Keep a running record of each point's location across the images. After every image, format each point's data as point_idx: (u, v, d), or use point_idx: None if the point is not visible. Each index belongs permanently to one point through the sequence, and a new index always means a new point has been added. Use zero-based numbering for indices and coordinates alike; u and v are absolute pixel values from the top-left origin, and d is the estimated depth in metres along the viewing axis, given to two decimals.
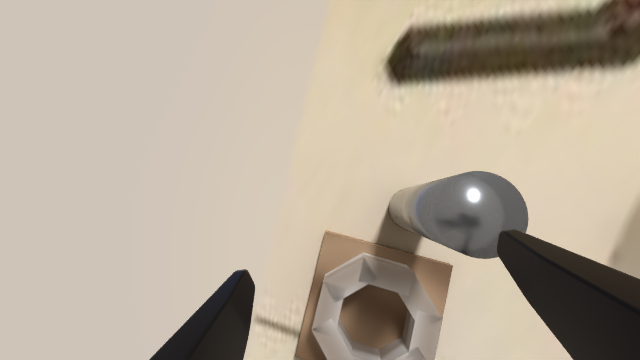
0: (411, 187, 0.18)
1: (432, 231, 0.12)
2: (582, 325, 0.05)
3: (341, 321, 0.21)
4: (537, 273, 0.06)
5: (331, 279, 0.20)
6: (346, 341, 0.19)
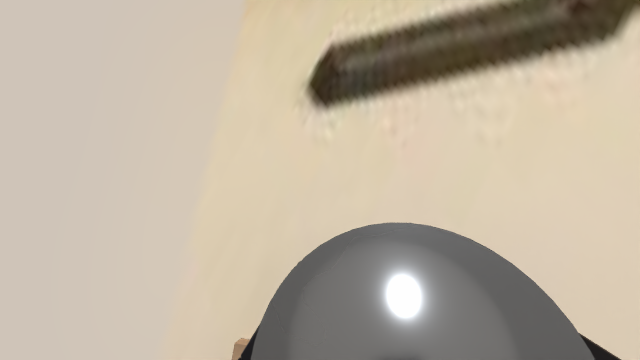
0: None
1: None
2: None
3: None
4: None
5: None
6: None
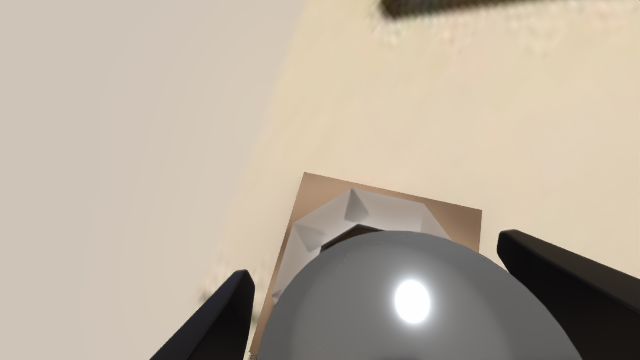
0: None
1: None
2: (582, 325, 0.05)
3: None
4: (537, 273, 0.06)
5: (305, 219, 0.14)
6: None
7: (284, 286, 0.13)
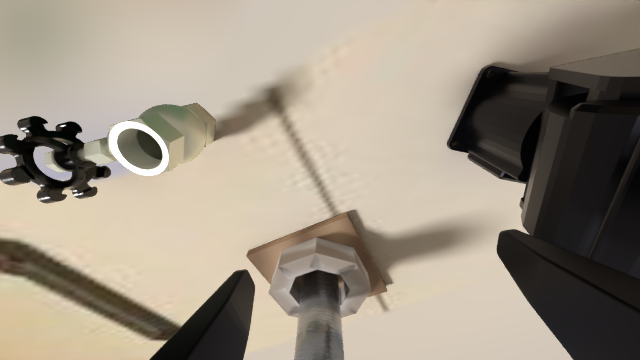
0: None
1: None
2: (582, 325, 0.05)
3: (342, 284, 0.26)
4: (537, 273, 0.06)
5: None
6: (346, 290, 0.24)
7: (348, 312, 0.25)
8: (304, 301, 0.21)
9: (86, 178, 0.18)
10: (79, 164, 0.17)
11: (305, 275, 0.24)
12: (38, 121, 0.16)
